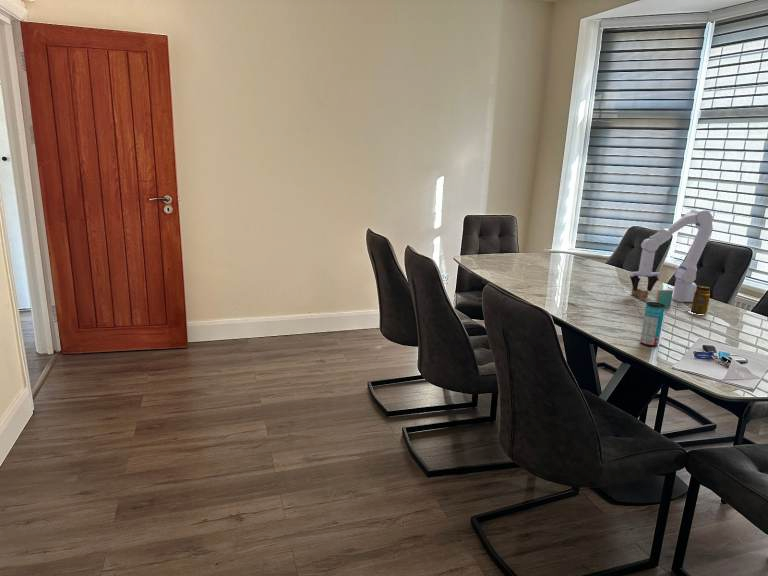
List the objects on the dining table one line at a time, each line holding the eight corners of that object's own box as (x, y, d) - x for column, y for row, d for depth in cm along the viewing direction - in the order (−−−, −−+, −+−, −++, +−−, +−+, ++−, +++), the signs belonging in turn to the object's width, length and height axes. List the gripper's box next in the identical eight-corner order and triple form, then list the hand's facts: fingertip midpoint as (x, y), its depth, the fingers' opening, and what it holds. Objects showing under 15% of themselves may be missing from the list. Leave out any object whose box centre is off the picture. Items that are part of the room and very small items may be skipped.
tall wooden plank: (627, 294, 265) (628, 286, 264) (638, 294, 266) (640, 286, 265) (648, 303, 249) (649, 295, 248) (660, 303, 250) (661, 295, 249)
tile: (668, 306, 244) (671, 289, 243) (670, 307, 243) (673, 290, 241) (654, 306, 244) (657, 289, 242) (656, 307, 242) (659, 290, 240)
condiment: (710, 314, 235) (715, 287, 232) (700, 316, 230) (706, 289, 227) (693, 309, 240) (698, 284, 238) (684, 312, 236) (688, 286, 233)
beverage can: (661, 347, 187) (668, 306, 184) (645, 347, 187) (652, 306, 183) (652, 341, 193) (658, 302, 189) (636, 341, 192) (643, 301, 189)
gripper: (655, 262, 260) (650, 289, 263) (627, 261, 258) (623, 288, 261) (664, 265, 253) (659, 292, 257) (636, 264, 251) (631, 292, 255)
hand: (641, 290), depth 258 cm, fingers open, 7 cm apart
